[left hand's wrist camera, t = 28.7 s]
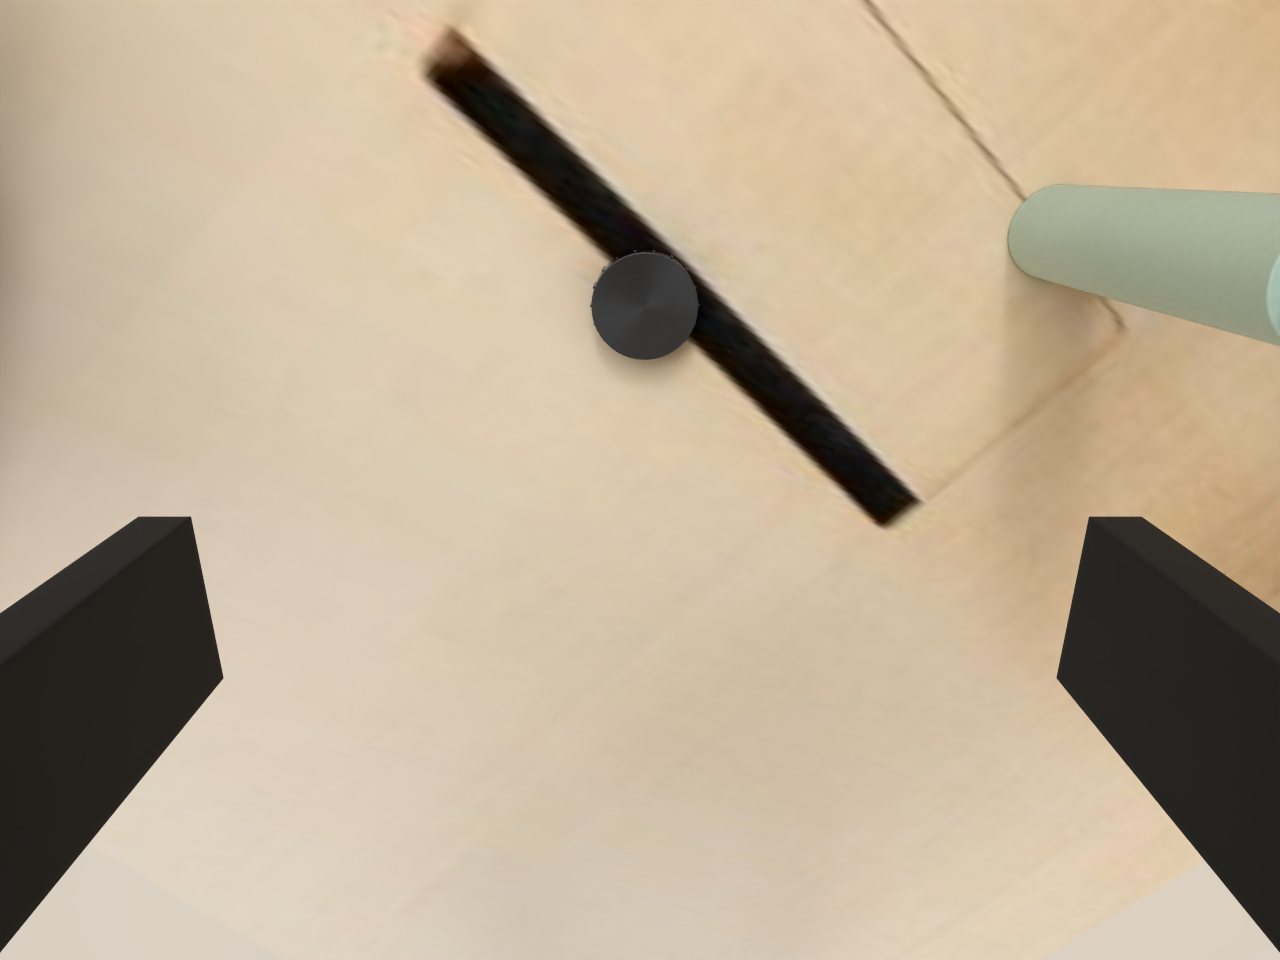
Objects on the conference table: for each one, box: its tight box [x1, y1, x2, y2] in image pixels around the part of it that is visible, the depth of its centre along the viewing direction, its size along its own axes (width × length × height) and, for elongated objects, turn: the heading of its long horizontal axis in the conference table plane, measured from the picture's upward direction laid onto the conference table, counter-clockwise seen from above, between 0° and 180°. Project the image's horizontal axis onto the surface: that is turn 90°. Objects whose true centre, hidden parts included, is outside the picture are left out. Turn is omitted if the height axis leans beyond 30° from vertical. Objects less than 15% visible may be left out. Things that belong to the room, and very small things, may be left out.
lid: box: [590, 248, 699, 360], centre depth 40 cm, size 5×5×2 cm
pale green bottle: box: [1008, 184, 1280, 346], centre depth 31 cm, size 4×4×19 cm
